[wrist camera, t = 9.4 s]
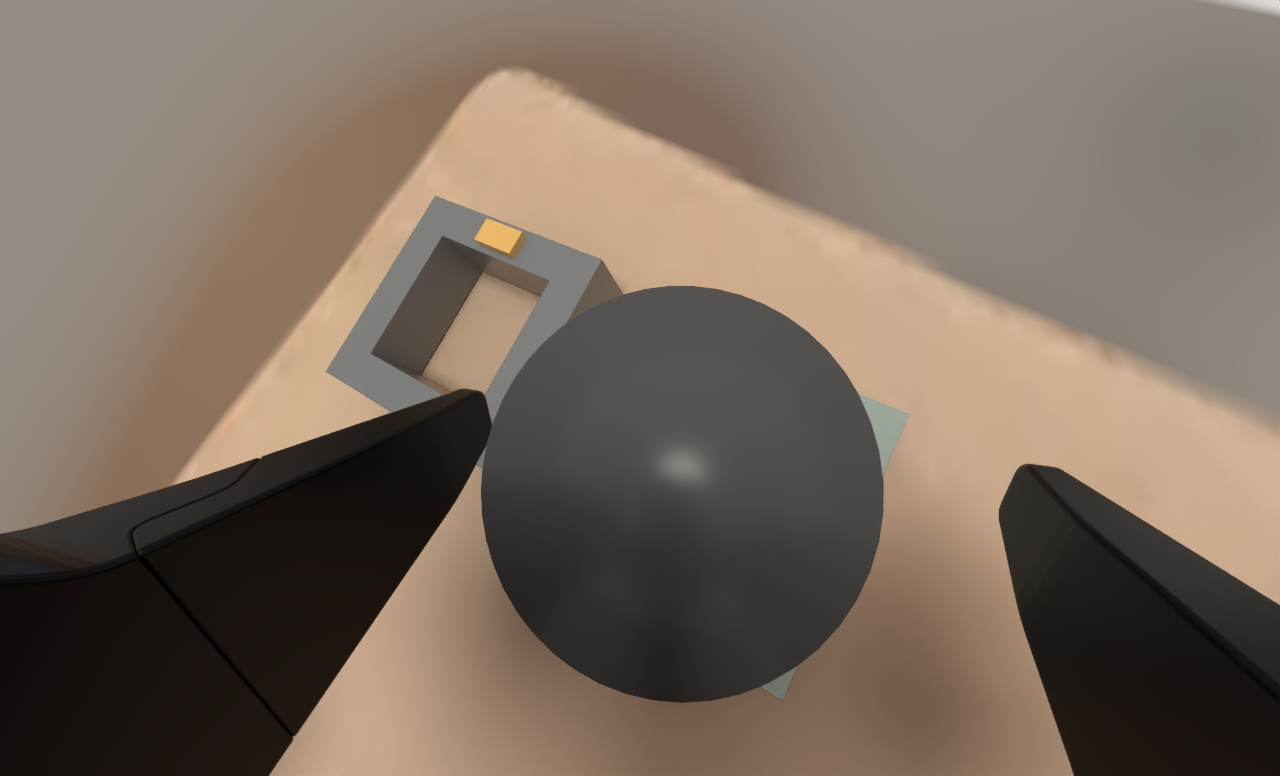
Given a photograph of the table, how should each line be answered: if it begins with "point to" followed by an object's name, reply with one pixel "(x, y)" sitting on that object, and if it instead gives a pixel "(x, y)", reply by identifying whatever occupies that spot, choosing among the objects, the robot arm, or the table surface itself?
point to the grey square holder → (461, 302)
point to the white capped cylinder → (682, 494)
